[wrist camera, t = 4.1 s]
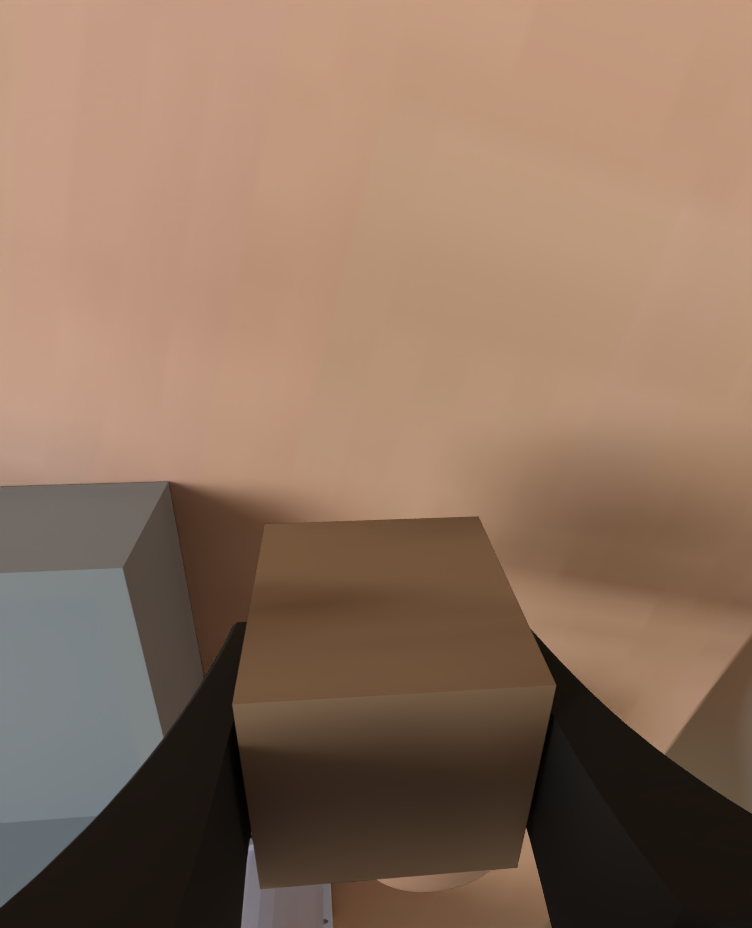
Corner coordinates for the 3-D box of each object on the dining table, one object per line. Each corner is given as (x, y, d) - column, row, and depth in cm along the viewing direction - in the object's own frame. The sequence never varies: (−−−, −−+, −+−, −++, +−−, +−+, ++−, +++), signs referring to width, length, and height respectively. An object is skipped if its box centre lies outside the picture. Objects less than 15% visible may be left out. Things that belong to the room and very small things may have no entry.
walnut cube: (461, 670, 15) (517, 867, 11) (279, 680, 15) (260, 889, 11) (478, 516, 13) (556, 685, 9) (264, 523, 13) (231, 704, 8)
